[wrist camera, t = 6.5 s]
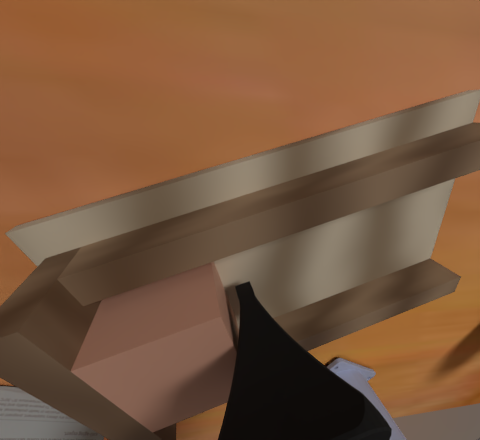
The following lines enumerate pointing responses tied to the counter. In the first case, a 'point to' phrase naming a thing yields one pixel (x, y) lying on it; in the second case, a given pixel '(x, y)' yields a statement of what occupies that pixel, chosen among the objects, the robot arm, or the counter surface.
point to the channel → (249, 246)
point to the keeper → (163, 348)
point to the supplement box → (37, 419)
